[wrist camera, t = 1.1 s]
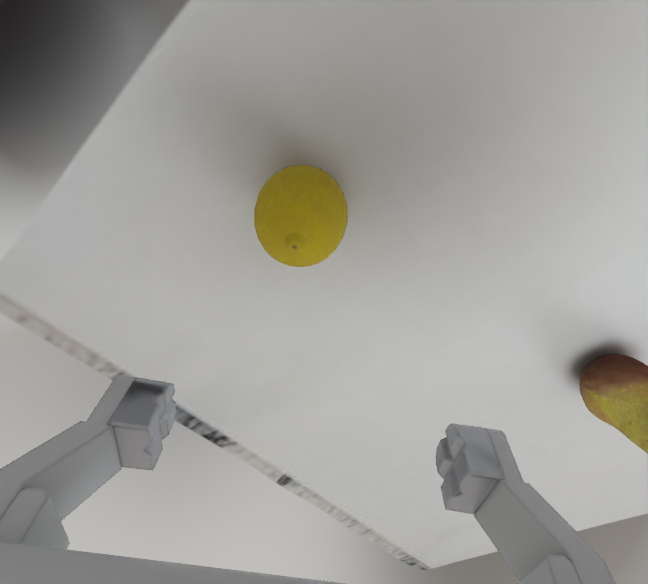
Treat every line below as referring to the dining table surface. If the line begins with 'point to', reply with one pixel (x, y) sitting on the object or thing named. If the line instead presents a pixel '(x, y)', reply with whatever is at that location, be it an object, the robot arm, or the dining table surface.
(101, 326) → the dining table surface
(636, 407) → the fruit
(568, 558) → the robot arm
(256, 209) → the lemon
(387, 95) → the dining table surface
